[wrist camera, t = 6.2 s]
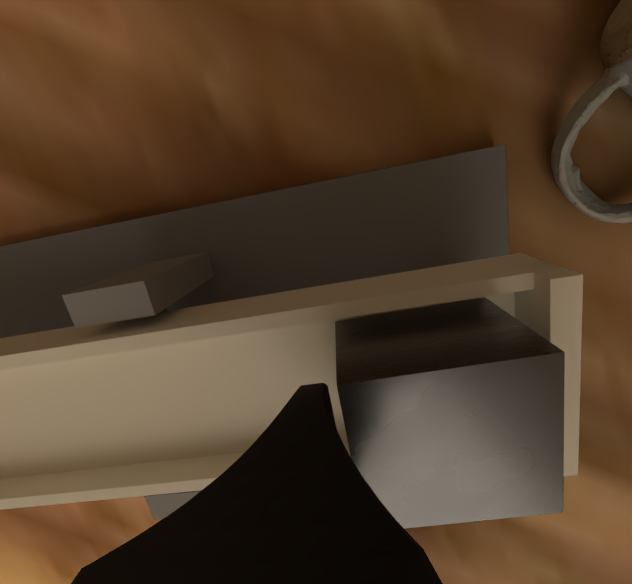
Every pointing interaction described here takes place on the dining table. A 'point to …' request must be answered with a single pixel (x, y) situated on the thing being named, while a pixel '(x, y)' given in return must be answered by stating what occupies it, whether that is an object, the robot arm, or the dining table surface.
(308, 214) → the stand
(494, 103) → the dining table surface
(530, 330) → the rider
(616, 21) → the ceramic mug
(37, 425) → the beam
